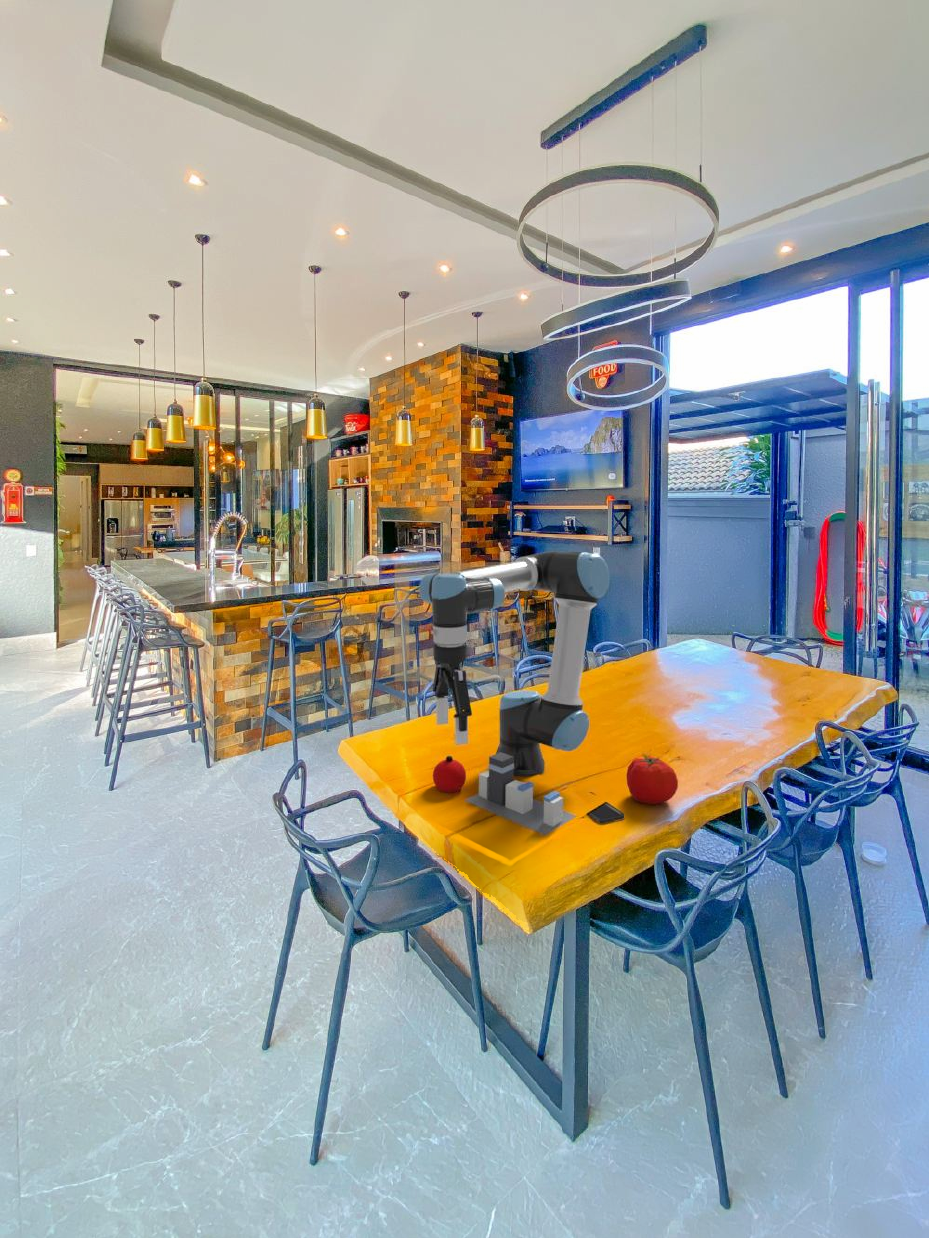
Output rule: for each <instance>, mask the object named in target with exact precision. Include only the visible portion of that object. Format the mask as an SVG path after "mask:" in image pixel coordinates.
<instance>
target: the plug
mask: <svg viewBox="0 0 929 1238" xmlns="http://www.w3.org/2000/svg"><path fill="white" fill-rule="evenodd" d="M488 770H489V801H491V802H493V803H496V804H498V805H501V806H503V805H505V804H506V784H508V783H511V782H513V781H515V780H514V777H515V776H514V757H513V756H510V755H508V754H505V753H502V752H500V753H497V754H496V753H495V754H492V755H490V756H489V757H488Z"/></svg>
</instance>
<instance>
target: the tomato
mask: <svg viewBox="0 0 929 1238" xmlns="http://www.w3.org/2000/svg"><path fill="white" fill-rule="evenodd" d="M642 756H643V758H640V757H639V758H638V757H637V758H634V759H632V761H631V762H630V764H628V766H627V770H626V771H627V772H626V785H627V788H628V789H629V793H630V795H631V796H632V797H633V799H634V800H635V801H637V802H639V803H644V804H649V805H655V804H665V803H667V802H668V801H669V800H670V799H672V798H673V796H675V794H676V792H677V791H678V788H679V787H678V785H679V780H678V776H677V774H676V773H677V772H675V770H674V768H673V767H671V766H670V765H669V764H668V763H666V762H664V761H663V760H662V759H660V758H661V757H662V756H661V757H660V756H659V757H653V756H646V755H645V754H644V753H642Z"/></svg>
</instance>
